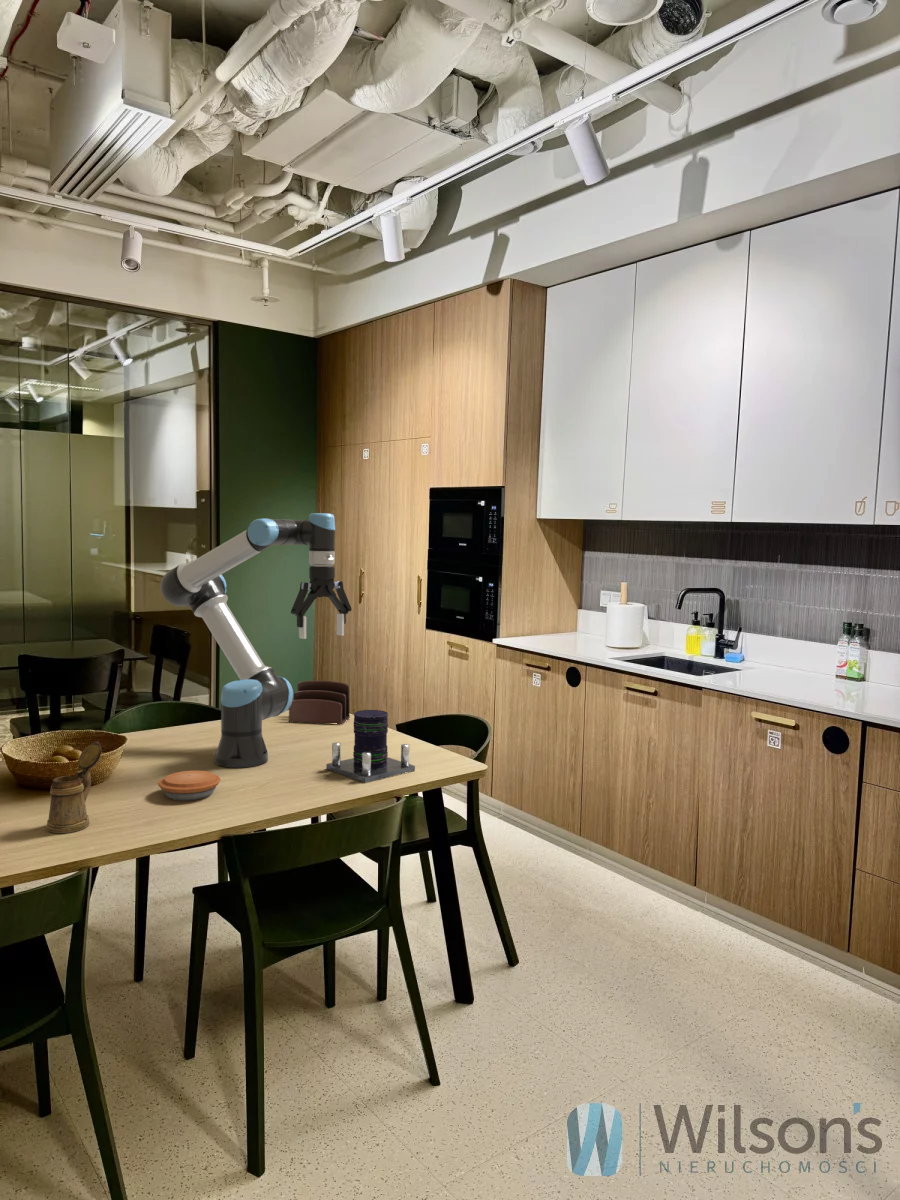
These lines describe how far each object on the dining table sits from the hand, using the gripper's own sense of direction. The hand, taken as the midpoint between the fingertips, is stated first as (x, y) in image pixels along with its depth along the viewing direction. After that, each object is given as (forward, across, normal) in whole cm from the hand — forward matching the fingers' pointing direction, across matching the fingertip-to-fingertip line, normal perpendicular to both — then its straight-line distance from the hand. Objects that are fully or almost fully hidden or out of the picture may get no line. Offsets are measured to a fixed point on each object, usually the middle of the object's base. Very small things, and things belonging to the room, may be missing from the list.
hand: (321, 636), depth 253 cm
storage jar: (+35, +3, -20) cm, 41 cm away
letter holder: (+37, +29, +42) cm, 63 cm away
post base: (+37, +3, -20) cm, 42 cm away
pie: (+37, -46, -7) cm, 60 cm away
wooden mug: (+37, -76, -11) cm, 85 cm away
